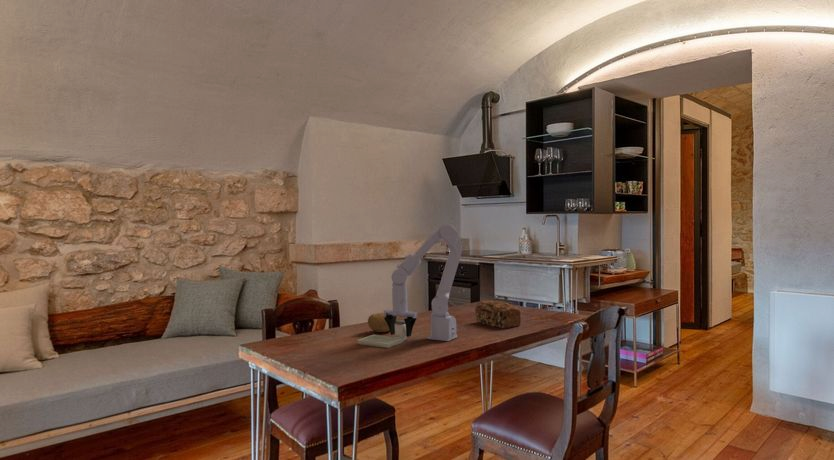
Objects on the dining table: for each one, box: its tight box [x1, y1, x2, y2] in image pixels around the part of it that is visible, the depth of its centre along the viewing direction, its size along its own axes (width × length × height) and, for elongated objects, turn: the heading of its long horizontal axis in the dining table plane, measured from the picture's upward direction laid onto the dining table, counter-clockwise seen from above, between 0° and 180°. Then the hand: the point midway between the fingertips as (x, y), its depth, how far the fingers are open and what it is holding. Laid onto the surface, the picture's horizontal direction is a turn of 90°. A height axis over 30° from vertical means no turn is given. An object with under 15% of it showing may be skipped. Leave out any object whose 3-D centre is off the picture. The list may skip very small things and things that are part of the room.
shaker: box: [394, 320, 408, 341], centre depth 192 cm, size 5×5×7 cm
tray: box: [357, 334, 405, 349], centre depth 186 cm, size 14×10×2 cm
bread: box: [474, 299, 522, 329], centre depth 216 cm, size 19×11×10 cm, turn 32°
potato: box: [367, 312, 399, 333], centre depth 206 cm, size 10×14×8 cm
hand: (400, 335), depth 192 cm, fingers open, 7 cm apart
